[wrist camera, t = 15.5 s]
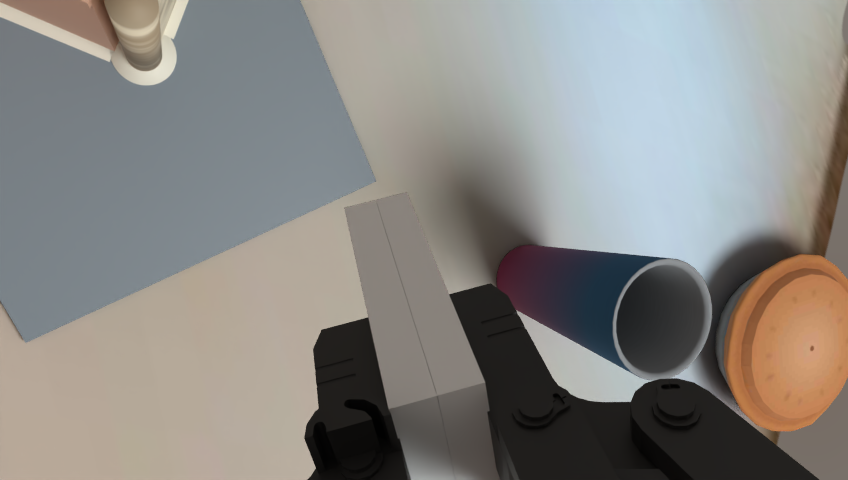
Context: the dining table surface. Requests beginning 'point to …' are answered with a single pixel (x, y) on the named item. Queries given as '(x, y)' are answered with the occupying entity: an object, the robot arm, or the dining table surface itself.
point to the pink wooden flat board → (73, 18)
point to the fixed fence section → (140, 29)
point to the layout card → (158, 151)
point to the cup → (614, 304)
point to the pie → (786, 342)
